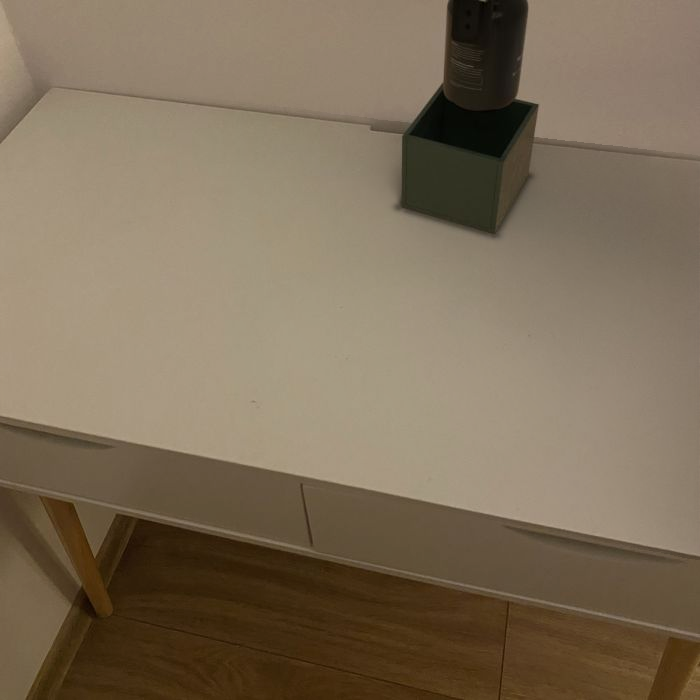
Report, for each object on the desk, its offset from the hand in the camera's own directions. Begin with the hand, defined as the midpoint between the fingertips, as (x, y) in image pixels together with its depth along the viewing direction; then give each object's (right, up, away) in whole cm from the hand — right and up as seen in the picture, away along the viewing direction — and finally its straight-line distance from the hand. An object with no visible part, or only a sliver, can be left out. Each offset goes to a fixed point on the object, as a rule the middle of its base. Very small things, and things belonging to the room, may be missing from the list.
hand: (486, 19), depth 70 cm
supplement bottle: (0, -5, +6) cm, 7 cm away
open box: (0, -12, +15) cm, 19 cm away
